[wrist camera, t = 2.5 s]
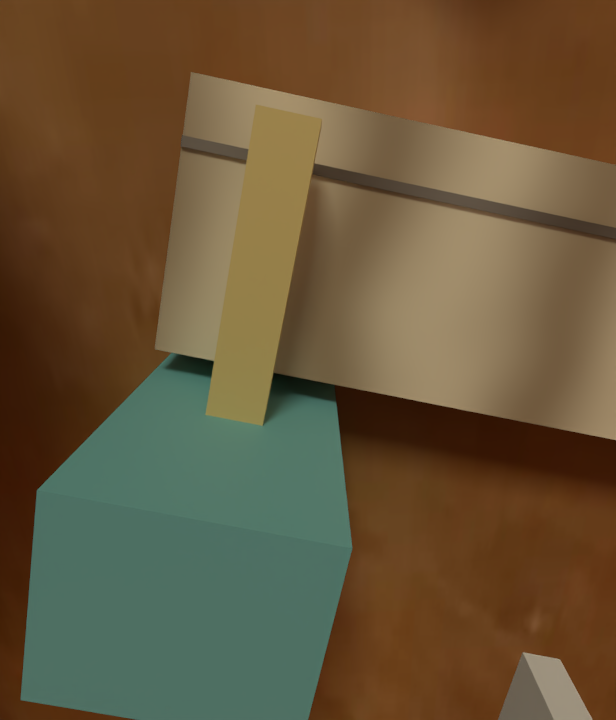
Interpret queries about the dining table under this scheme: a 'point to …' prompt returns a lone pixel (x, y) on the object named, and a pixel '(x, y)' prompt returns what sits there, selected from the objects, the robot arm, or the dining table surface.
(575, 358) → the plank
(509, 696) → the robot arm
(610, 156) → the dining table surface
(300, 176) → the teal boxy piece
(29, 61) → the dining table surface
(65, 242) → the dining table surface
